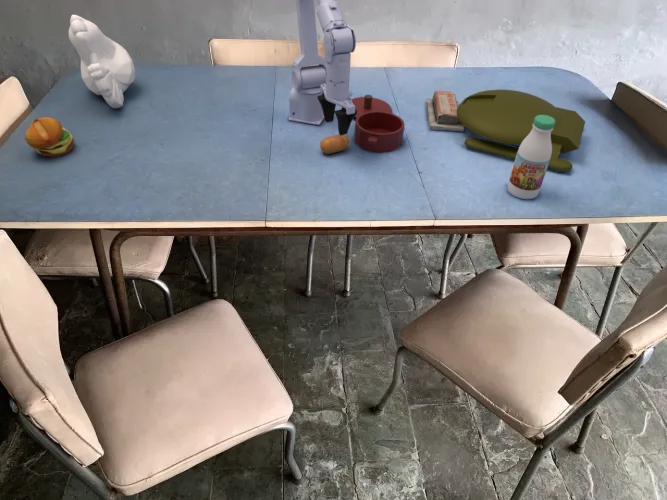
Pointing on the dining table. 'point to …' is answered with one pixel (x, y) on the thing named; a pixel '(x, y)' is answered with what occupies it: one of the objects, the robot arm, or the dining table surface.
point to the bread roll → (334, 144)
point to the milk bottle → (532, 159)
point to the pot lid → (369, 105)
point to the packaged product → (443, 112)
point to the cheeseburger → (49, 137)
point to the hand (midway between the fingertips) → (336, 127)
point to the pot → (379, 131)
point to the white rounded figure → (101, 61)
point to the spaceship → (517, 124)
